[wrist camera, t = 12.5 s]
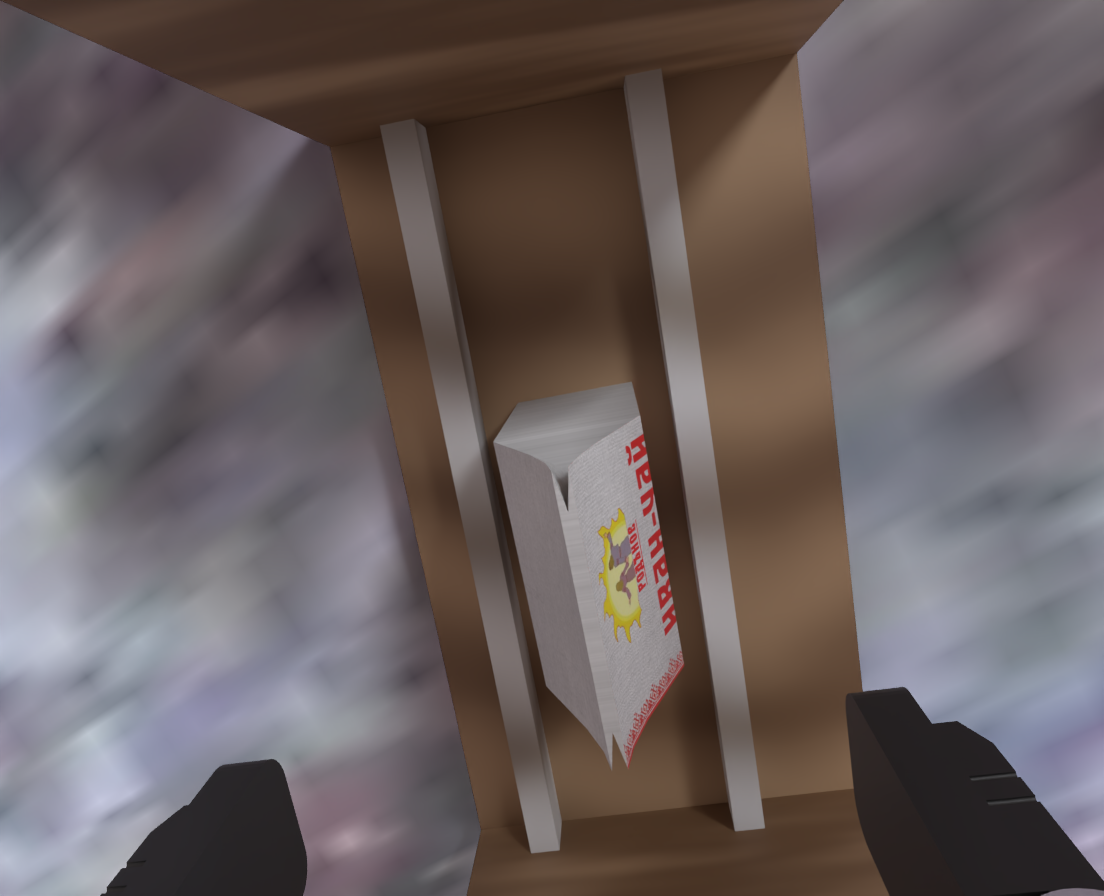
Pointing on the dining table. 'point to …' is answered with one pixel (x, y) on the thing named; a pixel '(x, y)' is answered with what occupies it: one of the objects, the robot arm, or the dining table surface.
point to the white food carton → (592, 557)
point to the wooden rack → (587, 363)
